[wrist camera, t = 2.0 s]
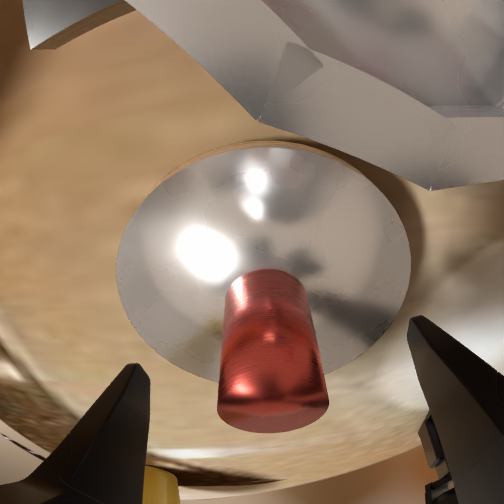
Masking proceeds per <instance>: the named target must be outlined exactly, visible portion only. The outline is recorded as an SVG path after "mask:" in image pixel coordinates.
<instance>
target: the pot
mask: <svg viewBox="0 0 504 504" xmlns="http://www.w3.org/2000/svg"><path fill="white" fill-rule="evenodd" d="M22 2H23V9H24V16H25V22H26V28H27V34H28V39H29V44H30V49H31V50H35V49H56V48H58V47H60V46H62V45H63V44H65V43H67V42H69V41H71V40H72V39H74V38H76V37H78V36H80V35H82V34H84V33H86V32H88V31H90V30H92V29H94V28H96V27H98V26H100V25H102V24H104V23H107V22H109V21H111V20H113V19H116V18H118V17H120V16H123V15H125V14H127V13H130V12H132V11H135V10H138V11H139V12H140V13H141V14H142V15H144V16H145V17H146V18H147V19H149V20H150V21H151V22H152V23H153V24H155V25H156V26H157V27H158V28H159V29H160V30H162V31H163V32H164V33H165V34H166V35H167V36H169V37H170V38H171V39H172V40H173V41H174V42H175V43H177V44H178V45H179V46H180V47H181V48H182V49H183V50H184V51H185V52H187V53H188V54H189V55H190V56H191V57H192V58H193V59H194V60H195V61H196V62H197V63H199V64H200V65H201V66H202V67H203V68H204V69H205V70H206V71H207V72H208V73H209V74H210V75H211V76H212V77H213V78H214V79H215V80H216V81H217V82H219V83H220V84H221V85H222V86H223V87H224V88H225V89H226V90H227V91H228V92H229V93H230V94H231V95H232V96H233V97H234V98H235V99H236V100H237V101H238V102H239V103H240V104H241V105H242V106H243V107H244V108H245V109H246V110H247V112H248V113H249V114H250V115H251V116H252V117H253V118H254V119H255V120H257V119H258V121H259V122H260V123H264V124H267V125H270V126H273V127H276V128H279V129H282V130H285V131H288V132H291V133H294V134H297V135H300V136H303V137H305V138H308V139H311V140H314V141H316V142H319V143H322V144H324V145H327V146H330V147H332V148H335V149H337V150H340V151H343V152H345V153H347V154H350V155H352V156H355V157H357V158H360V159H362V160H364V161H367V162H369V163H371V164H374V165H376V166H378V167H381V168H383V169H385V170H387V171H390V172H392V173H394V174H396V175H398V176H400V177H403V178H405V179H407V180H409V181H411V182H413V183H415V184H417V185H419V186H421V187H423V188H425V189H427V190H429V189H430V190H431V191H433V190H439V189H446V188H452V187H459V186H465V185H472V184H479V183H486V182H493V181H500V180H504V0H22Z"/></svg>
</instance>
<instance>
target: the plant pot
mask: <svg viewBox="0 0 504 504" xmlns="http://www.w3.org/2000/svg"><path fill="white" fill-rule="evenodd" d="M142 504H180V498H179V490H178V481H177V477H176V476H175V475H173V474H172V473H170V472H167V471H165V470H162V469H159V468H156V467H152V466H147V465H145V474H144V487H143V503H142Z"/></svg>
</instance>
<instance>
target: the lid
mask: <svg viewBox="0 0 504 504" xmlns="http://www.w3.org/2000/svg"><path fill="white" fill-rule="evenodd" d="M410 274H411V255H410V247H409V241H408V238H407V235H406V232H405V228H404V226H403V224H402V222H401V220H400V218H399V216H398V214H397V212H396V210H395V209H394V207H393V206H392V205H391V203H390V202H389V201H388V199H387V198H386V197H385V195H384V194H383V193H382V192H381V191H380V190H379V189H378V188H377V187H376V186H375V185H374V184H373V183H372V182H371V181H370V180H369V179H368V178H367V177H366V176H364V175H363V174H362V173H361V172H360V171H359V170H357V169H356V168H354V167H353V166H351V165H350V164H348V163H347V162H345V161H344V160H342V159H340V158H338V157H336V156H334V155H332V154H330V153H327V152H325V151H323V150H320V149H317V148H313V147H310V146H306V145H303V144H298V143H291V142H284V141H250V142H243V143H236V144H230V145H227V146H223V147H220V148H217V149H213V150H210V151H207V152H205V153H203V154H201V155H199V156H196V157H194V158H192V159H190V160H188V161H186V162H185V163H183V164H182V165H180V166H179V167H177V168H176V169H174V170H173V171H171V172H170V173H169V174H168V175H166V176H165V177H164V178H163V179H162V180H161V181H160V182H159V183H158V184H157V185H155V186H154V188H153V189H152V190H151V191H150V193H149V194H148V195H147V196H146V198H145V199H144V200H143V201H142V203H141V204H140V206H139V207H138V208H137V210H136V211H135V213H134V214H133V216H132V218H131V220H130V221H129V223H128V225H127V227H126V229H125V231H124V234H123V237H122V239H121V242H120V245H119V250H118V256H117V262H116V280H117V286H118V292H119V296H120V299H121V302H122V305H123V308H124V310H125V312H126V314H127V316H128V318H129V320H130V322H131V324H132V325H133V327H134V328H135V329H136V331H137V332H138V334H139V335H140V336H141V337H142V338H143V339H144V341H145V342H146V343H147V344H148V345H149V346H150V347H151V348H153V349H154V350H155V351H156V352H157V353H158V354H159V355H161V356H162V357H164V358H165V359H166V360H168V361H169V362H171V363H172V364H174V365H176V366H178V367H180V368H181V369H183V370H185V371H187V372H190V373H192V374H194V375H197V376H199V377H202V378H205V379H208V380H211V381H215V382H219V388H218V403H217V412H218V414H219V416H220V418H221V419H222V420H223V421H224V422H226V423H227V424H229V425H231V426H233V427H235V428H238V429H241V430H244V431H249V432H255V433H279V432H286V431H291V430H295V429H299V428H302V427H304V426H307V425H309V424H311V423H313V422H315V421H316V420H318V419H319V418H320V417H321V416H322V415H323V414H324V413H325V412H326V411H327V409H328V406H329V399H328V394H327V388H326V383H325V378H324V375H325V374H328V373H330V372H332V371H334V370H336V369H338V368H340V367H342V366H344V365H346V364H348V363H349V362H351V361H352V360H354V359H356V358H357V357H358V356H360V355H361V354H362V353H364V352H365V351H366V350H368V349H369V348H370V347H371V346H372V345H373V344H374V343H375V342H376V341H377V340H378V339H379V338H380V337H381V336H382V335H383V334H384V332H385V331H386V330H387V329H388V328H389V326H390V325H391V323H392V322H393V320H394V319H395V317H396V316H397V314H398V312H399V310H400V308H401V306H402V304H403V301H404V298H405V295H406V292H407V289H408V285H409V279H410Z"/></svg>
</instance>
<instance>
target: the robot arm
mask: <svg viewBox="0 0 504 504" xmlns="http://www.w3.org/2000/svg"><path fill="white" fill-rule="evenodd" d="M407 341H408V344H409V348H410V351H411V355H412V358H413V362H414V365H415V369H416V373H417V376H418V380H419V383H420V385H421V388H422V391H423V393H424V396H425V399H426V401H427V404H428V407H429V409H430V410H429V412H428V414H427V416H426V418H425V420H424V422H423V424H422V426H421V428H420V430H419V432H418V435H419V437H420V439H421V442H422V445H423V448H424V452H425V455H426V458H427V462H428V465H429V467H430V468H434V467H435V469H436V472H437V476H438V480H437V481H435V482H432V483H429V484H427V485H425V490H426V493H425V501H426V504H504V376H503V375H502V374H501V373H499V372H497V370H495V369H494V368H493V367H492V366H490V365H489V364H488V363H486V362H485V361H484V360H482V359H481V358H480V357H479V356H477V355H476V354H475V353H473V352H472V351H471V350H469V349H468V348H467V347H465V346H464V345H463V344H461V343H460V342H459V341H457V340H456V339H455V338H453V337H452V336H450V335H449V334H448V333H446V332H445V331H444V330H442V329H441V328H440V327H438V326H437V325H435V324H434V323H433V322H431V321H430V320H429V319H427V318H426V317H424V316H422V315H419V316H415V317H412V318H411V319H410V321H409V327H408V332H407ZM149 422H150V379H149V376H148V375H147V374H146V372H145V371H144V369H143V368H142V367H141V365H140V364H138V363H130V364H127V365H126V366H125V367H124V368H123V370H122V371H121V372H120V373H119V374H118V375H117V377H116V378H115V379H114V380H113V381H112V382H111V384H110V385H109V386H108V387H107V388H106V390H105V391H104V392H103V393H102V394H101V395H100V397H99V398H98V399H97V400H96V401H95V403H94V404H93V405H92V406H91V407H90V409H89V410H88V411H87V412H86V413H85V415H84V416H83V417H82V418H81V419H80V421H79V422H78V423H77V424H76V425H75V427H74V428H73V429H72V430H71V431H70V433H69V434H68V435H67V436H66V437H65V439H64V440H63V441H62V442H61V443H60V444H59V446H58V447H57V448H56V449H55V450H54V451H53V452H52V453H51V454H50V455H49V457H47V458H46V459H45V460H44V461H43V462H42V463H41V464H40V465H39V466H38V467H37V468H36V469H35V471H33V473H31V474H30V475H29V476H28V477H26V478H25V479H23V480H21V481H18V482H14V483H10V484H4V485H0V504H142V503H143V487H144V474H145V462H146V451H147V441H148V432H149ZM452 485H454V488H452V489H450V490H449V489H448V487H450V486H452Z"/></svg>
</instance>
